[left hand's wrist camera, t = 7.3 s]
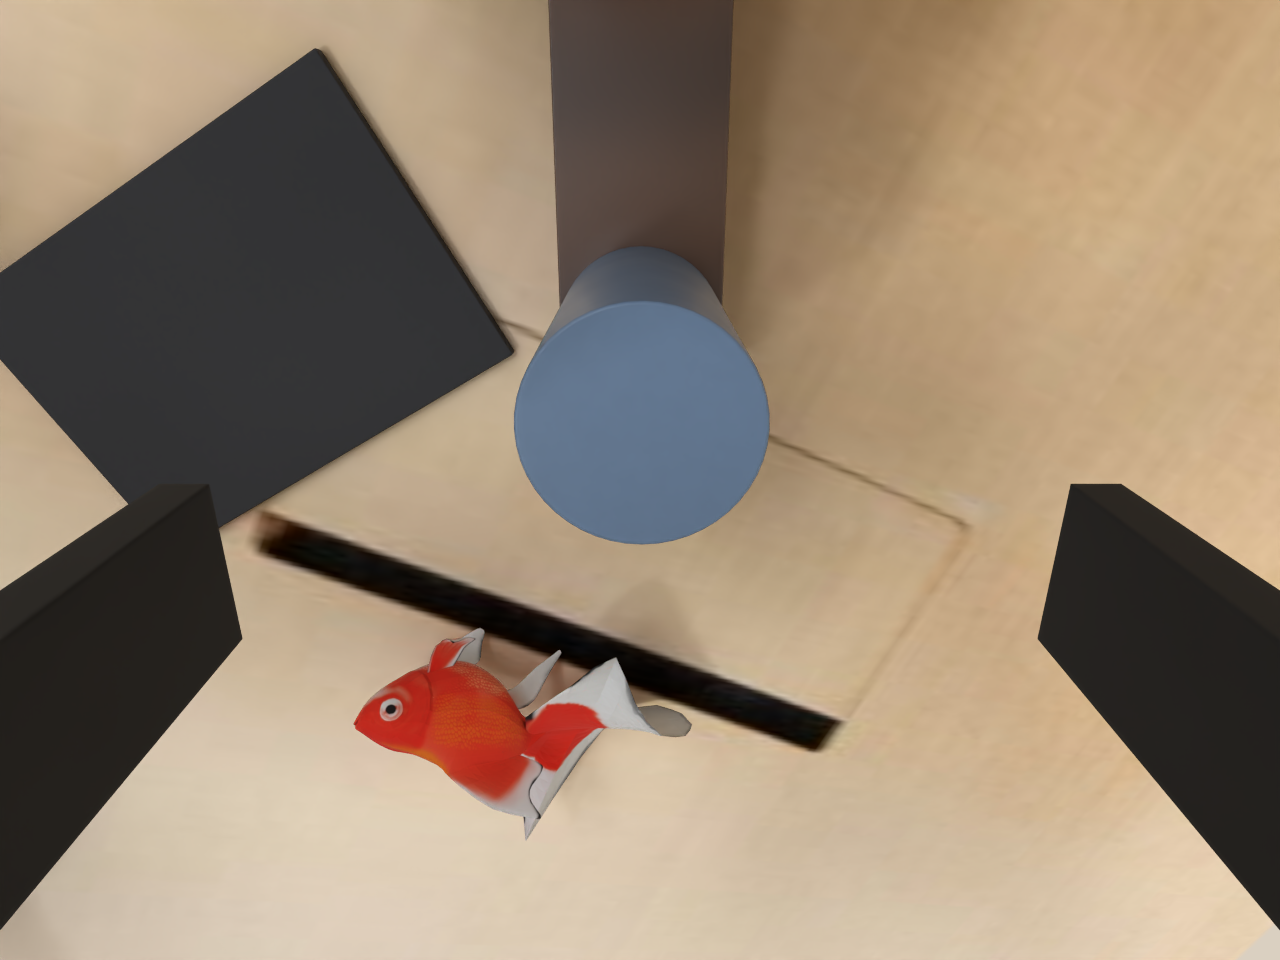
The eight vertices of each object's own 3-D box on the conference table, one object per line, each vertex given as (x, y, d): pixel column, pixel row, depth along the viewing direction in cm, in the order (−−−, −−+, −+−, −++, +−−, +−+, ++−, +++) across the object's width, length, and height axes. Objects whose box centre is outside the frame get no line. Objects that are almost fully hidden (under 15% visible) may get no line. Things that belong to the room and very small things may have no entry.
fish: (425, 536, 34) (433, 767, 28) (702, 592, 43) (753, 778, 37) (338, 652, 41) (330, 862, 35) (595, 681, 49) (624, 853, 43)
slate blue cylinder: (612, 433, 31) (598, 584, 20) (529, 299, 29) (462, 384, 18) (749, 358, 30) (813, 474, 19) (671, 213, 28) (693, 249, 17)
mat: (179, 549, 40) (172, 555, 39) (-38, 304, 35) (-48, 306, 35) (514, 351, 36) (513, 354, 36) (320, 49, 32) (314, 47, 31)
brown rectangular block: (706, 368, 37) (718, 406, 31) (575, 369, 37) (563, 406, 31) (725, -240, 28) (746, -337, 23) (555, -240, 28) (535, -337, 23)
